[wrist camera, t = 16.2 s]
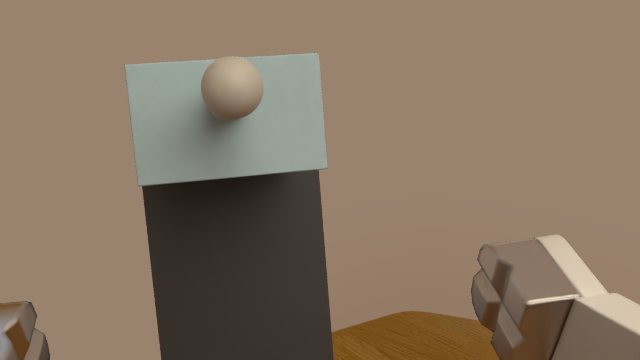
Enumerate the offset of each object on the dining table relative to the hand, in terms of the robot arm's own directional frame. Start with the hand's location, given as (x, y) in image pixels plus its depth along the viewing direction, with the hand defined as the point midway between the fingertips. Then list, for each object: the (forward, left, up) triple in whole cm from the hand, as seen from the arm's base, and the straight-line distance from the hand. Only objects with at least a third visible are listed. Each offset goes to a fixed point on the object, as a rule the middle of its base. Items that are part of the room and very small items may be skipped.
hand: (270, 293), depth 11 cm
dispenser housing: (0, +32, -21) cm, 38 cm away
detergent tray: (0, +18, +1) cm, 18 cm away
